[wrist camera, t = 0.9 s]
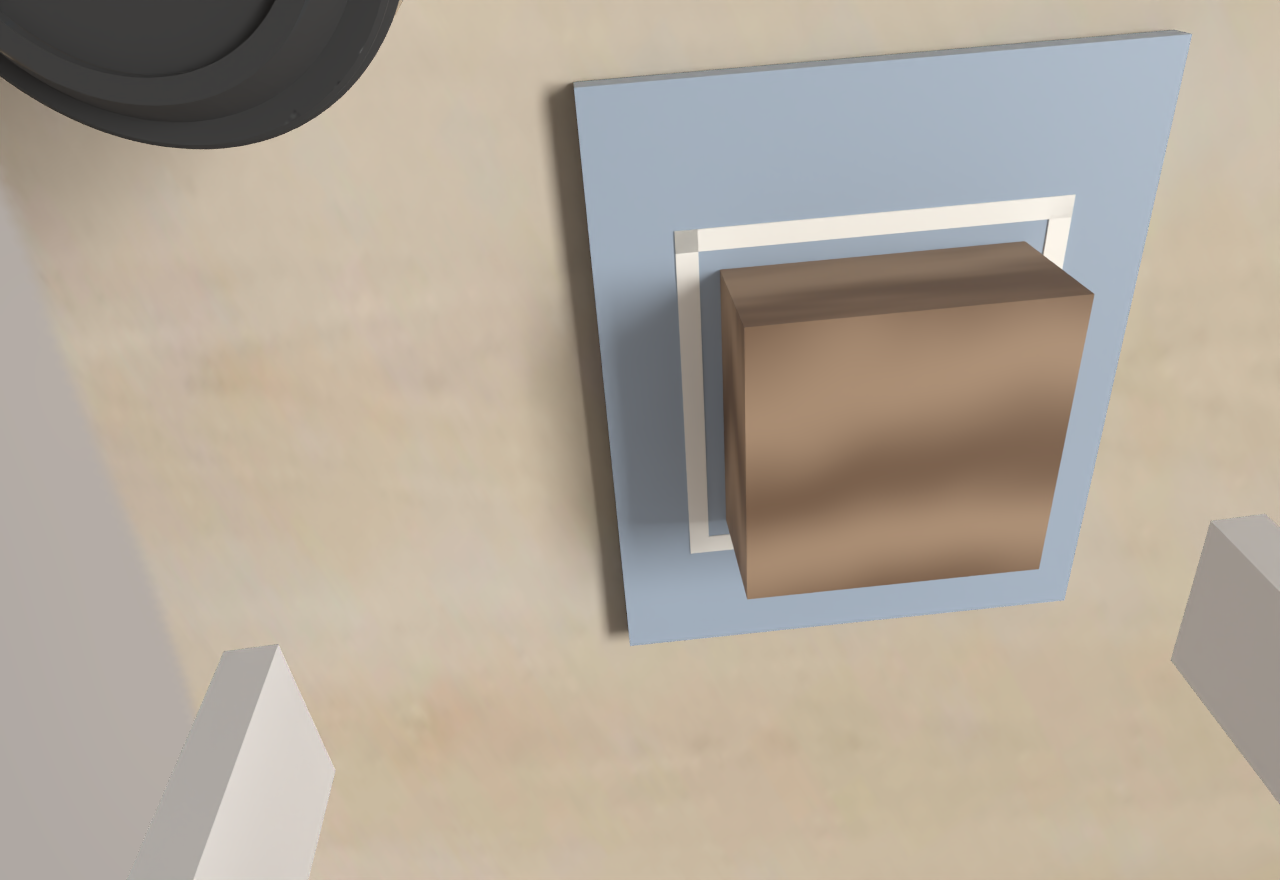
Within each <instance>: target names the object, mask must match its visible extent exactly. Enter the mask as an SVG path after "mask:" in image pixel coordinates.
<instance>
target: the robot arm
mask: <svg viewBox="0 0 1280 880" xmlns="http://www.w3.org/2000/svg"><path fill="white" fill-rule="evenodd" d="M1171 661H1172V663H1173V664H1174V665H1175V666H1176V668H1177V669H1178V670H1179V672H1180V673H1181V674H1182V676H1183V677H1184V678H1185V680H1186V681H1187V682H1188V684H1189V685H1190V686H1191V688H1192V689H1193V690H1194V692H1195V693H1196V694H1197V696H1198V697H1199V698H1200V700H1201V701H1202V702H1203V703H1204V705H1205V706H1206V707H1207V709H1208V710H1209V711H1210V713H1211V714H1212V715H1213V717H1214V718H1215V719H1216V721H1217V722H1218V723H1219V725H1220V726H1221V727H1222V729H1223V730H1224V731H1225V733H1226V734H1227V735H1228V737H1229V738H1230V739H1231V740H1232V742H1233V743H1234V744H1235V746H1236V747H1237V748H1238V750H1239V751H1240V752H1241V754H1242V755H1243V756H1244V758H1245V759H1246V760H1247V762H1248V763H1249V764H1250V766H1251V767H1252V768H1253V770H1254V771H1255V772H1256V774H1257V775H1258V776H1259V777H1260V779H1261V780H1262V781H1263V783H1264V784H1265V785H1266V787H1267V788H1268V789H1269V791H1270V792H1271V793H1272V795H1273V796H1274V797H1275V799H1276V800H1277V801H1278V803H1279V804H1280V527H1279V526H1278V525H1277V524H1276V523H1274V522H1273V521H1272V520H1271V519H1270V518H1269V517H1268V516H1267V515H1266V514H1260V515H1252V516H1245V517H1237V518H1230V519H1222V520H1214V521H1211V522H1210V525H1209V529H1208V532H1207V536H1206V539H1205V543H1204V546H1203V550H1202V553H1201V557H1200V560H1199V564H1198V567H1197V571H1196V574H1195V578H1194V581H1193V584H1192V588H1191V591H1190V595H1189V598H1188V602H1187V605H1186V609H1185V612H1184V616H1183V619H1182V623H1181V626H1180V630H1179V633H1178V637H1177V640H1176V643H1175V647H1174V650H1173V654H1172V657H1171ZM334 775H335V768H334V766H333V764H332V762H331V760H330V757H329V755H328V753H327V751H326V748H325V746H324V744H323V742H322V740H321V737H320V735H319V733H318V731H317V729H316V726H315V724H314V722H313V720H312V718H311V715H310V713H309V711H308V709H307V706H306V704H305V702H304V700H303V698H302V695H301V693H300V691H299V689H298V687H297V684H296V682H295V680H294V678H293V676H292V673H291V671H290V669H289V667H288V664H287V662H286V660H285V658H284V656H283V653H282V651H281V649H280V647H279V645H278V644H276V645H268V646H261V647H253V648H245V649H238V650H230V651H224V652H223V655H222V657H221V659H220V662H219V664H218V666H217V669H216V671H215V673H214V676H213V678H212V680H211V683H210V685H209V687H208V690H207V692H206V694H205V697H204V699H203V701H202V704H201V706H200V709H199V711H198V713H197V716H196V718H195V720H194V723H193V725H192V727H191V730H190V732H189V734H188V737H187V739H186V742H185V744H184V746H183V748H182V751H181V753H180V755H179V758H178V760H177V763H176V765H175V767H174V770H173V772H172V774H171V777H170V779H169V781H168V784H167V786H166V789H165V791H164V793H163V795H162V798H161V800H160V802H159V805H158V807H157V810H156V812H155V814H154V817H153V819H152V821H151V824H150V826H149V828H148V831H147V833H146V835H145V838H144V840H143V842H142V845H141V847H140V850H139V852H138V854H137V857H136V859H135V861H134V864H133V866H132V868H131V871H130V873H129V875H128V878H127V880H308V879H309V875H310V871H311V867H312V863H313V859H314V855H315V851H316V847H317V843H318V839H319V835H320V831H321V827H322V823H323V819H324V815H325V811H326V807H327V803H328V799H329V795H330V791H331V787H332V783H333V779H334Z"/></svg>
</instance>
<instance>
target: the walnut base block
mask: <svg viewBox="0 0 1280 880" xmlns="http://www.w3.org/2000/svg"><path fill="white" fill-rule="evenodd" d="M720 293H721V334H722V374H723V415H724V456H725V497H726V522H727V525H728V529H729V533H730V537H731V540H732V544H733V548H734V552H735V555H736V559H737V563H738V567H739V571H740V574H741V578H742V582H743V586H744V589H745V593H746V597H747V599H757V598H766V597H776V596H786V595H795V594H805V593H814V592H824V591H834V590H843V589H853V588H862V587H872V586H882V585H891V584H901V583H910V582H920V581H930V580H939V579H949V578H958V577H968V576H978V575H987V574H997V573H1006V572H1016V571H1026V570H1035V569H1039V567H1040V562H1041V557H1042V552H1043V547H1044V542H1045V537H1046V532H1047V527H1048V522H1049V517H1050V512H1051V507H1052V502H1053V497H1054V492H1055V487H1056V483H1057V478H1058V473H1059V468H1060V463H1061V458H1062V453H1063V448H1064V443H1065V438H1066V433H1067V428H1068V423H1069V418H1070V413H1071V408H1072V403H1073V399H1074V394H1075V389H1076V384H1077V379H1078V374H1079V369H1080V364H1081V359H1082V354H1083V349H1084V344H1085V339H1086V334H1087V329H1088V324H1089V319H1090V315H1091V310H1092V305H1093V300H1094V295H1095V294H1094V293H1093V292H1091V291H1090V290H1089V289H1087V288H1086V287H1085V286H1083V285H1082V284H1081V283H1079V282H1078V281H1077V280H1075V279H1074V278H1073V277H1071V276H1070V275H1069V274H1068V273H1066V272H1065V271H1064V270H1062V269H1061V268H1060V267H1058V266H1057V265H1056V264H1054V263H1053V262H1052V261H1050V260H1049V259H1048V258H1046V257H1045V256H1044V255H1042V254H1041V253H1040V252H1039V251H1037V250H1036V249H1035V248H1033V247H1032V246H1031V245H1029V244H1028V243H1027V242H1025V241H1021V242H1010V243H1000V244H989V245H978V246H967V247H957V248H946V249H935V250H925V251H914V252H903V253H892V254H882V255H871V256H860V257H850V258H839V259H828V260H817V261H807V262H796V263H785V264H775V265H764V266H753V267H742V268H732V269H721V270H720Z"/></svg>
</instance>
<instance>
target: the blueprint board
mask: <svg viewBox="0 0 1280 880" xmlns="http://www.w3.org/2000/svg"><path fill="white" fill-rule="evenodd" d="M1191 36H1192V34H1190V33H1186V32H1181V31H1177V30H1167V31H1156V32H1144V33H1133V34H1121V35H1110V36H1098V37H1086V38H1075V39H1063V40H1052V41H1040V42H1029V43H1017V44H1006V45H994V46H983V47H971V48H960V49H948V50H937V51H925V52H914V53H902V54H891V55H879V56H868V57H856V58H845V59H833V60H822V61H810V62H799V63H787V64H776V65H764V66H752V67H741V68H729V69H718V70H706V71H695V72H683V73H672V74H660V75H649V76H637V77H626V78H614V79H603V80H591V81H580V82H573V83H574V94H575V104H576V114H577V124H578V133H579V143H580V153H581V163H582V173H583V183H584V193H585V203H586V213H587V223H588V233H589V243H590V252H591V262H592V272H593V282H594V292H595V302H596V312H597V322H598V332H599V342H600V352H601V362H602V371H603V381H604V391H605V401H606V411H607V421H608V431H609V441H610V451H611V461H612V471H613V480H614V490H615V500H616V510H617V520H618V530H619V540H620V550H621V560H622V570H623V580H624V590H625V599H626V609H627V619H628V629H629V639H630V646H634V645H643V644H653V643H662V642H672V641H681V640H691V639H700V638H710V637H719V636H729V635H738V634H748V633H757V632H767V631H776V630H786V629H795V628H805V627H814V626H824V625H833V624H843V623H852V622H862V621H871V620H881V619H890V618H900V617H909V616H919V615H928V614H938V613H947V612H957V611H966V610H976V609H985V608H995V607H1004V606H1014V605H1023V604H1033V603H1042V602H1052V601H1061V600H1064V599H1065V594H1066V590H1067V585H1068V581H1069V577H1070V572H1071V568H1072V563H1073V559H1074V555H1075V550H1076V546H1077V541H1078V537H1079V532H1080V528H1081V524H1082V519H1083V515H1084V510H1085V506H1086V501H1087V497H1088V493H1089V488H1090V484H1091V479H1092V475H1093V470H1094V466H1095V462H1096V457H1097V453H1098V448H1099V444H1100V439H1101V435H1102V431H1103V426H1104V422H1105V417H1106V413H1107V408H1108V404H1109V400H1110V395H1111V391H1112V386H1113V382H1114V377H1115V373H1116V369H1117V364H1118V360H1119V355H1120V351H1121V346H1122V342H1123V338H1124V333H1125V329H1126V324H1127V320H1128V315H1129V311H1130V307H1131V302H1132V298H1133V293H1134V289H1135V284H1136V280H1137V276H1138V271H1139V267H1140V262H1141V258H1142V253H1143V249H1144V245H1145V240H1146V236H1147V231H1148V227H1149V222H1150V218H1151V214H1152V209H1153V205H1154V200H1155V196H1156V191H1157V187H1158V183H1159V178H1160V174H1161V169H1162V165H1163V160H1164V156H1165V152H1166V147H1167V143H1168V138H1169V134H1170V129H1171V125H1172V121H1173V116H1174V112H1175V107H1176V103H1177V98H1178V94H1179V90H1180V85H1181V81H1182V76H1183V72H1184V67H1185V63H1186V59H1187V54H1188V50H1189V45H1190V41H1191ZM1021 241H1025V242H1027V243H1028V244H1029V245H1031V246H1032V247H1033V248H1035V249H1036V250H1037V251H1039V252H1040V253H1041V254H1042V255H1044V256H1045V257H1046V258H1048V259H1049V260H1050V261H1052V262H1053V263H1054V264H1056V265H1057V266H1058V267H1060V268H1061V269H1062V270H1064V271H1065V272H1066V273H1068V274H1069V275H1070V276H1071V277H1073V278H1074V279H1075V280H1077V281H1078V282H1079V283H1081V284H1082V285H1083V286H1085V287H1086V288H1087V289H1089V290H1090V291H1091V292H1093V293H1094V294H1095V295H1094V300H1093V305H1092V310H1091V315H1090V319H1089V324H1088V329H1087V334H1086V339H1085V344H1084V349H1083V354H1082V359H1081V364H1080V369H1079V374H1078V379H1077V384H1076V389H1075V394H1074V399H1073V403H1072V408H1071V413H1070V418H1069V423H1068V428H1067V433H1066V438H1065V443H1064V448H1063V453H1062V458H1061V463H1060V468H1059V473H1058V478H1057V483H1056V487H1055V492H1054V497H1053V502H1052V507H1051V512H1050V517H1049V522H1048V527H1047V532H1046V537H1045V542H1044V547H1043V552H1042V557H1041V562H1040V567H1039V569H1035V570H1026V571H1016V572H1006V573H997V574H987V575H978V576H968V577H958V578H949V579H939V580H930V581H920V582H910V583H901V584H891V585H882V586H872V587H862V588H853V589H843V590H834V591H824V592H814V593H805V594H795V595H786V596H776V597H766V598H757V599H747V597H746V593H745V589H744V586H743V582H742V578H741V574H740V571H739V567H738V563H737V559H736V555H735V552H734V548H733V544H732V540H731V537H730V533H729V529H728V525H727V522H726V497H725V456H724V415H723V374H722V334H721V293H720V270H721V269H732V268H742V267H753V266H764V265H775V264H785V263H796V262H807V261H817V260H828V259H839V258H850V257H860V256H871V255H882V254H892V253H903V252H914V251H925V250H935V249H946V248H957V247H967V246H978V245H989V244H1000V243H1010V242H1021Z"/></svg>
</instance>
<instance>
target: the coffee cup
mask: <svg viewBox="0 0 1280 880" xmlns="http://www.w3.org/2000/svg"><path fill="white" fill-rule="evenodd" d="M402 2H403V0H0V76H1V77H2V78H4V79H5V80H6V81H8V82H9V83H11V84H12V85H13V86H15V87H16V88H18V89H19V90H21V91H22V92H24V93H26V94H27V95H29V96H30V97H32V98H34V99H35V100H37V101H39V102H40V103H42V104H44V105H46V106H47V107H49V108H51V109H53V110H55V111H57V112H59V113H61V114H63V115H65V116H67V117H69V118H71V119H73V120H75V121H78V122H80V123H82V124H85V125H87V126H89V127H92V128H95V129H97V130H100V131H103V132H106V133H109V134H112V135H115V136H118V137H121V138H125V139H129V140H132V141H137V142H141V143H146V144H151V145H157V146H164V147H172V148H186V149H220V148H230V147H237V146H244V145H248V144H253V143H257V142H261V141H265V140H268V139H271V138H274V137H277V136H279V135H282V134H285V133H287V132H289V131H291V130H293V129H295V128H298V127H300V126H301V125H303V124H305V123H307V122H308V121H310V120H312V119H313V118H315V117H317V116H318V115H319V114H321V113H322V112H324V111H325V110H326V109H328V108H329V107H330V106H331V105H333V104H334V103H335V102H336V101H337V100H338V99H340V98H341V97H342V96H343V95H344V94H345V93H346V92H347V91H348V90H349V89H350V88H351V87H352V86H353V85H354V83H355V82H356V81H357V80H358V79H359V78H360V76H361V75H362V74H363V72H364V71H365V70H366V68H367V67H368V66H369V64H370V63H371V61H372V60H373V58H374V57H375V55H376V53H377V52H378V50H379V48H380V46H381V44H382V43H383V41H384V39H385V37H386V35H387V32H388V30H389V28H390V26H391V23H392V21H393V18H394V16H395V15H396V13H397V11H398V9H399V7H400V5H401V3H402Z"/></svg>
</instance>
